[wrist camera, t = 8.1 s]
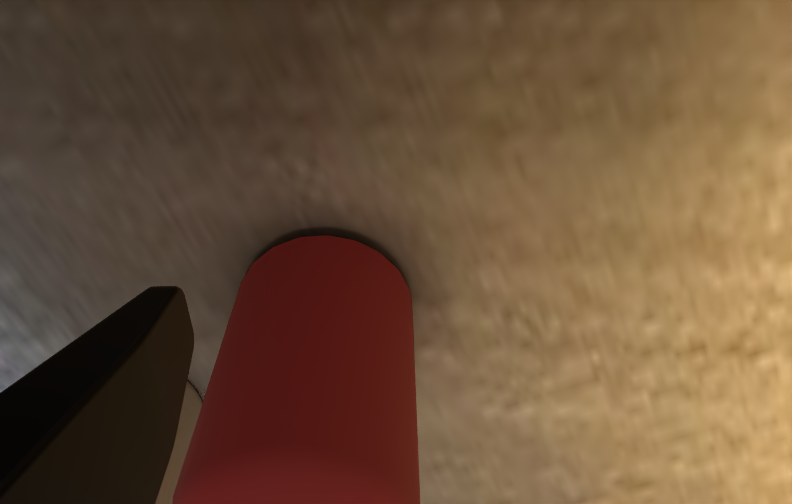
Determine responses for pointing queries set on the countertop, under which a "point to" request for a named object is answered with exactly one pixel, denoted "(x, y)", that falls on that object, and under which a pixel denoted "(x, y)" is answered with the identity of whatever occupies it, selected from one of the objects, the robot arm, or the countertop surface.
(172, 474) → the candle
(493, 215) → the countertop surface
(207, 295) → the countertop surface
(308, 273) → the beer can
